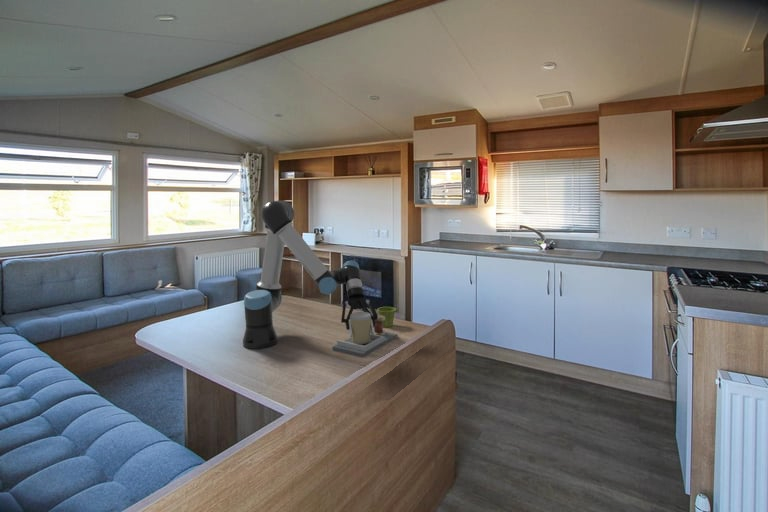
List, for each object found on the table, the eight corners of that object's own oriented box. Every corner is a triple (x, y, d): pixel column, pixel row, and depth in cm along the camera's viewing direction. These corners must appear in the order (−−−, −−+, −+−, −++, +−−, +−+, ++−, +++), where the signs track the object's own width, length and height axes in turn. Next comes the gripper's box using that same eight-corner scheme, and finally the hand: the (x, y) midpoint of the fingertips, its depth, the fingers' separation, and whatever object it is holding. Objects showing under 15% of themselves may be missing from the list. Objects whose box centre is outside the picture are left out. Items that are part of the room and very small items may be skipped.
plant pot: (385, 321, 216) (385, 305, 215) (399, 325, 210) (399, 308, 209) (373, 326, 209) (373, 309, 208) (388, 329, 203) (388, 312, 202)
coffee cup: (372, 337, 185) (372, 311, 183) (370, 344, 176) (369, 317, 174) (352, 337, 186) (351, 311, 184) (348, 344, 177) (347, 317, 175)
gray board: (363, 357, 169) (362, 349, 168) (332, 350, 177) (332, 342, 177) (397, 337, 192) (397, 329, 192) (369, 331, 201) (369, 324, 200)
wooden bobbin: (374, 336, 189) (374, 319, 187) (369, 332, 195) (369, 316, 193) (387, 334, 191) (387, 318, 190) (382, 330, 197) (382, 314, 196)
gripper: (376, 293, 196) (385, 336, 183) (331, 296, 191) (336, 341, 178) (379, 284, 190) (387, 328, 177) (332, 287, 185) (337, 333, 172)
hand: (362, 334), depth 177 cm, fingers closed on coffee cup, 9 cm apart
